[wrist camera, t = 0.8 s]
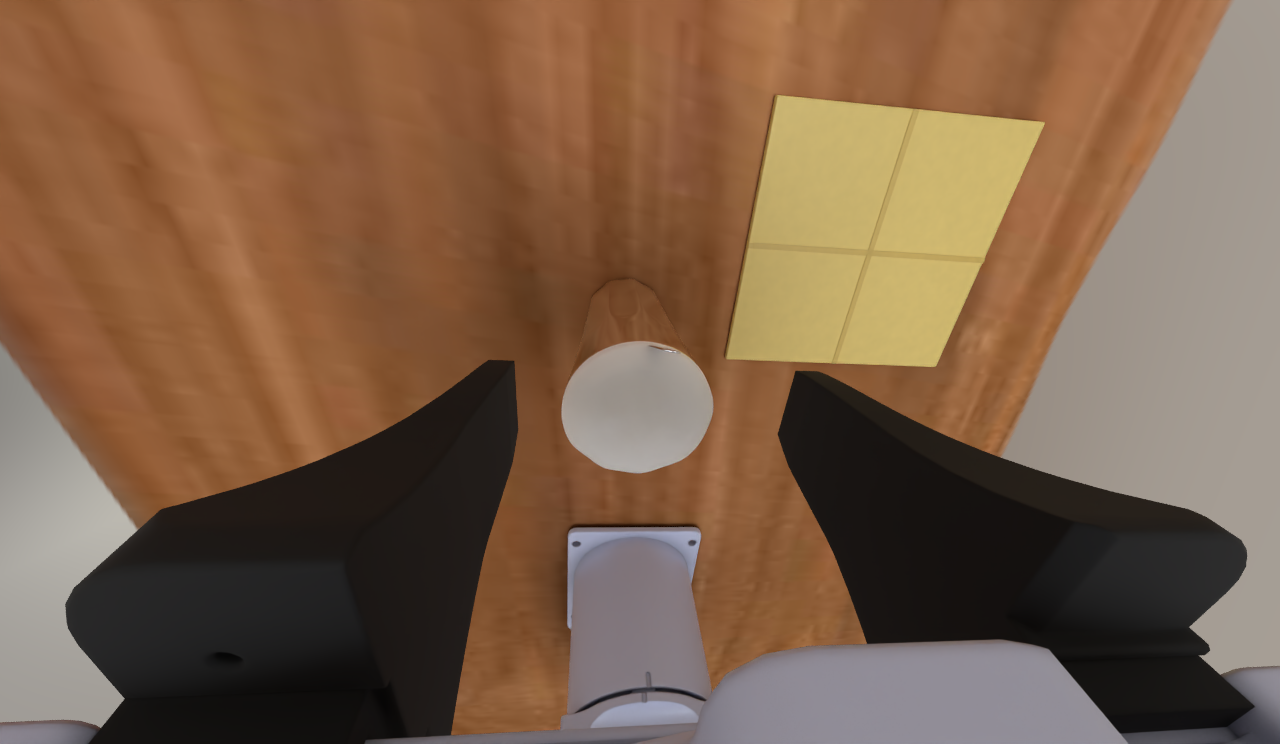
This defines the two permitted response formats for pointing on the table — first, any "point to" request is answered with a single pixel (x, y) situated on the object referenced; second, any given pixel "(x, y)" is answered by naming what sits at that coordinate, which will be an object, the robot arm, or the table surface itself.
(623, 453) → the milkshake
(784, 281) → the napkin
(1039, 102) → the table surface
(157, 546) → the robot arm
